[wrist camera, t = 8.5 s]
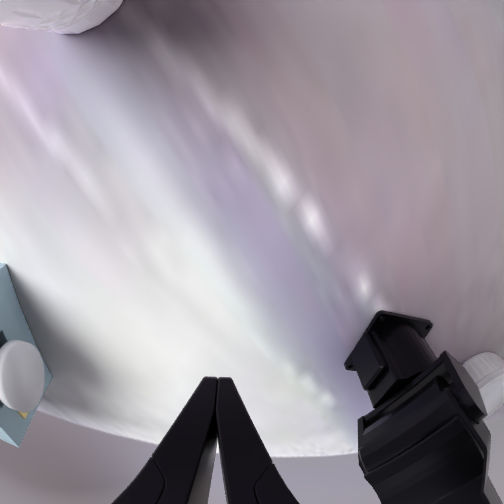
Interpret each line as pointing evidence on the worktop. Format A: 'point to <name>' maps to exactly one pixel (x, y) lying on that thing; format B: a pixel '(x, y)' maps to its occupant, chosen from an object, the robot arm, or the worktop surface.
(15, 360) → the plug
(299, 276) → the worktop surface
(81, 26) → the white cup
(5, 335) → the socket block
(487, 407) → the ramekin
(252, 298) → the worktop surface
